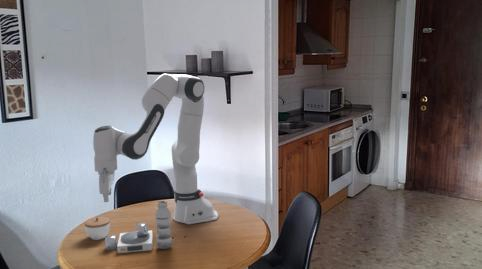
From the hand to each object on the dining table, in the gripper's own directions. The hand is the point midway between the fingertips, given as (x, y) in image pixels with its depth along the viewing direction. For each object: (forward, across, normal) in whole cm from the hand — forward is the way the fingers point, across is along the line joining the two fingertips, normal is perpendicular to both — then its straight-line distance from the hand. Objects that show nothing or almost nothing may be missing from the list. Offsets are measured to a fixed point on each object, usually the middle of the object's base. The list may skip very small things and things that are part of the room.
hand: (107, 198), depth 176 cm
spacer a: (+22, 0, 0) cm, 22 cm away
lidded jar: (+22, +13, +7) cm, 26 cm away
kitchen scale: (+22, +1, -10) cm, 24 cm away
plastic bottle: (+22, -5, -22) cm, 32 cm away
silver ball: (+18, +1, -13) cm, 22 cm away
